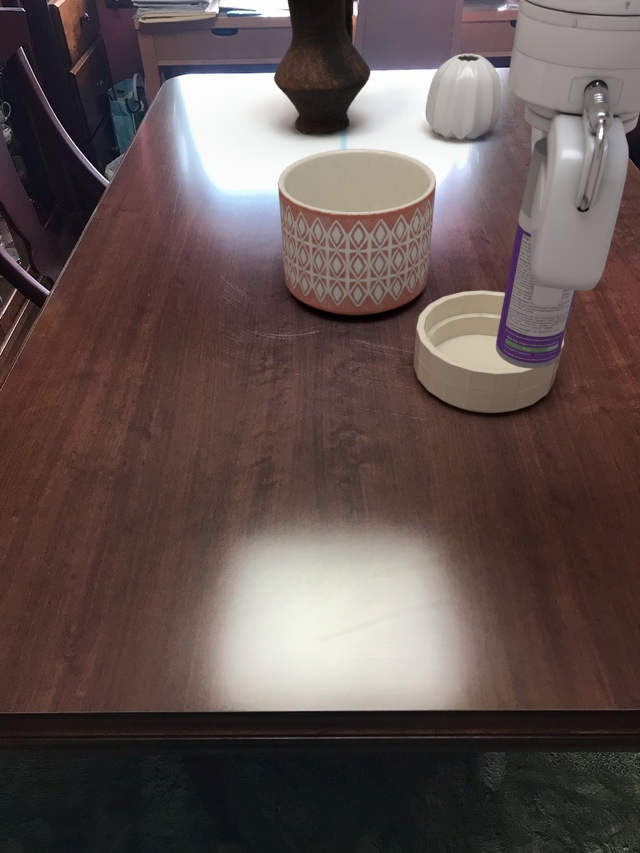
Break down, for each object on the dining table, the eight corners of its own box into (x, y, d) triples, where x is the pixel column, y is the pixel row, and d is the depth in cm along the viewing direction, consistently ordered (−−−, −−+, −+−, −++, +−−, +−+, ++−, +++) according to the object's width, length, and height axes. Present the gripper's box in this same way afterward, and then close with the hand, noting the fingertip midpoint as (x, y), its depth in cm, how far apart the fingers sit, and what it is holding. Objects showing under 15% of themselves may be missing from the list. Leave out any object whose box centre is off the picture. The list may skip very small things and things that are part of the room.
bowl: (552, 340, 83) (562, 298, 79) (553, 426, 72) (565, 381, 68) (422, 326, 86) (426, 284, 82) (404, 406, 75) (407, 362, 71)
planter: (256, 294, 93) (245, 187, 83) (340, 238, 104) (339, 138, 94) (375, 342, 84) (378, 229, 74) (452, 275, 95) (465, 169, 85)
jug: (346, 150, 129) (346, -41, 109) (260, 137, 135) (245, -46, 115) (387, 114, 143) (394, -62, 123) (307, 103, 149) (301, -65, 129)
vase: (419, 142, 131) (424, 66, 122) (432, 118, 140) (437, 45, 131) (492, 149, 127) (503, 70, 118) (500, 123, 137) (511, 48, 128)
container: (510, 325, 54) (548, 128, 44) (568, 344, 52) (623, 142, 42) (484, 355, 51) (519, 153, 41) (545, 376, 49) (598, 169, 39)
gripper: (682, 127, 30) (602, 375, 39) (634, 15, 45) (584, 216, 54) (533, 119, 31) (490, 362, 41) (534, 13, 46) (502, 209, 55)
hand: (543, 277), depth 47 cm, fingers closed on container, 4 cm apart
